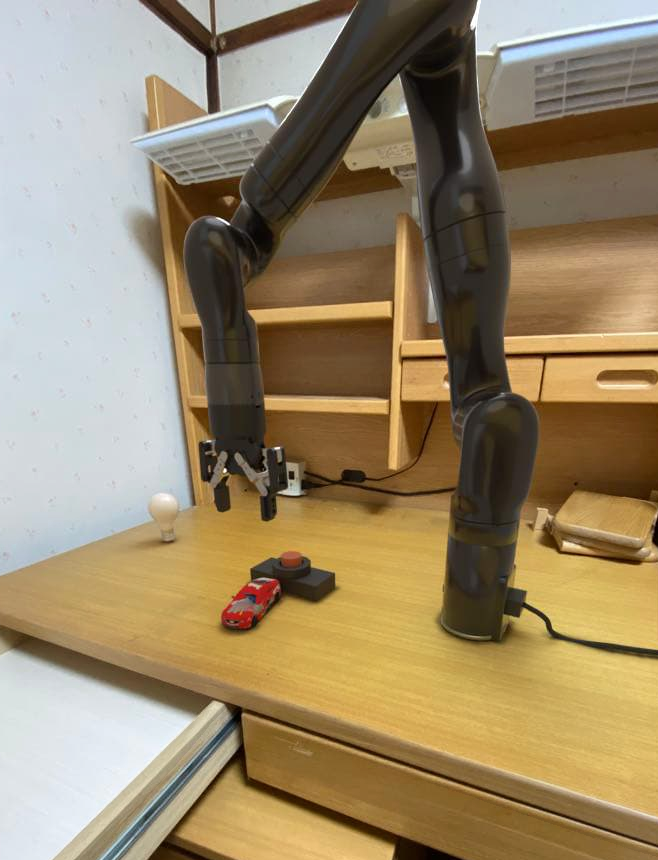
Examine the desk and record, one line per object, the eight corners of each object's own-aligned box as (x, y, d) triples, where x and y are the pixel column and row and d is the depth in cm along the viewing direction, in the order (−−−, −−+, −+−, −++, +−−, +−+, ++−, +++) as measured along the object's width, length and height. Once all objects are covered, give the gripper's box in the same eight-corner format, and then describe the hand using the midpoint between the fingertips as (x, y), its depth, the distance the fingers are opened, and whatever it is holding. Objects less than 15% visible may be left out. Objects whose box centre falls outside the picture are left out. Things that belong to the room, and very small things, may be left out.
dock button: (306, 562, 80) (305, 553, 80) (293, 570, 77) (293, 560, 77) (289, 558, 82) (289, 549, 81) (277, 565, 79) (276, 556, 78)
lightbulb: (175, 547, 99) (168, 497, 95) (147, 545, 100) (139, 496, 96) (188, 537, 105) (182, 490, 101) (163, 535, 105) (155, 489, 102)
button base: (336, 587, 80) (335, 563, 79) (315, 602, 75) (314, 578, 74) (273, 570, 87) (271, 548, 85) (250, 584, 82) (248, 560, 80)
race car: (247, 636, 66) (245, 612, 65) (215, 629, 68) (212, 606, 66) (287, 594, 78) (286, 573, 76) (258, 590, 79) (257, 569, 78)
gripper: (176, 400, 62) (191, 515, 68) (258, 403, 55) (267, 531, 61) (217, 396, 68) (228, 502, 74) (295, 399, 61) (300, 516, 67)
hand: (245, 515), depth 67 cm, fingers open, 8 cm apart
